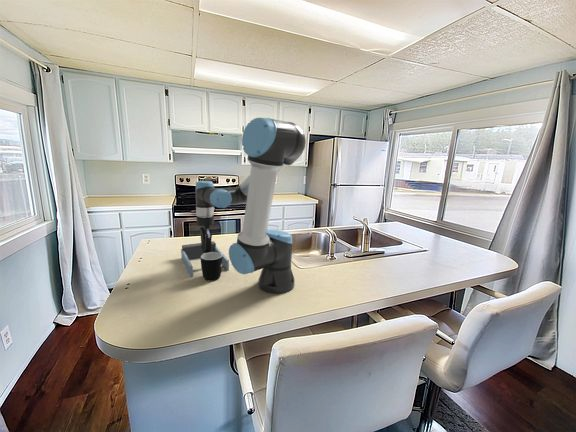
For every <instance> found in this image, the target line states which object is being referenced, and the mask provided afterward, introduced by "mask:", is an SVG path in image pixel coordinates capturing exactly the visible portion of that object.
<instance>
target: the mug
mask: <svg viewBox="0 0 576 432" xmlns="http://www.w3.org/2000/svg"><path fill="white" fill-rule="evenodd" d="M200 268H201V273H202V276H203V279H204V280H206V281H209V282H212V281H214V282H215V281H217V280H219V279H220V278H221V276H222V268H223V265H222V254H220V253H217V252H209V253H205V254H203V255H201V258H200Z"/></svg>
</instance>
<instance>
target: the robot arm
mask: <svg viewBox="0 0 576 432" xmlns="http://www.w3.org/2000/svg"><path fill="white" fill-rule="evenodd" d="M306 141H307V140H306V135H305V133H304V131H303V129H302V128H301V127H300V125H298V124H296V123H295V122H290V121H284V120H279V119H275V118H274V119H273V118H270V117H255V118H253V119H252V120H250V122H248V123H247V124H246V126H245V127H244V130H243V132H242V136H241V145H242V150H243V151H244V153H245V154H246V155H247V159H246V160H247V161H248V163H249V164H250V165H251V168H250V172H249V173H250V174H249V175H247V177H246V178H245V179H244V180H243V181H242V182H241V183H240V184H239V185H238V186H236V187H220V188H218V187H214V182H213V181H210V180H199V181H196V182H195V205H196V206H195V215H196V225H198V226H201V227H199V231H200V233H199V234H200V243H201V248H202V250H203V251H202V253H203V254H205V253H209V252H211V242H212V237H213V234H212V233H211V232H212V228H211V226H212V225H214V224H215V216H214V215H215V214H214V213H215V212H214V211H215V207H216V208H218V209H219V208H220V209H225V208H227V207H229V206H232V205H233V206H234V205H242V204H246V205H245V210H244V217H243V218H244V219H243V227H242V230H241V231H240V232H239V233H238V234H237V239H236V242H233V243H232V244H230V246H229V248H228V257H229V261H230V263H231V265H232V267H233V268H234V270H235V271H236V272H237V273H239V274H242V275H247V274H252V273H254V272H257V271H259V270H261V271H260V275H259V277H258V287H259V289H261V290H262V291H263V292H264V291H265V292H267V293H272V294H284V293H287V292H290V291H292V290H293V289H294V287H295V277H294V273H293V269H292V255H293V236H292V234H291V233H290V232H287V231H284V230H277V229H268V228H269V222H270V221H269V220H270V215H271V210H272V203H273V198H274V192H275V185H276V180H277V175H278V174H279V173H280V172H281V171H282V170H283V169H284V168H286V166H289V167H290V166H291V165H293V164H294V163H295V162H296V161H297V160H298V159H299V158H300V157H301V156H302V154H303V153H304V151H305V148H306V145H307V144H306Z"/></svg>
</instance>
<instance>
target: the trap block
mask: <svg viewBox="0 0 576 432" xmlns="http://www.w3.org/2000/svg"><path fill="white" fill-rule="evenodd" d="M215 247H217V244H216V242H215V241H214V240H213V241H212V240H211V252H215ZM181 249H182V250H183V251H185V253H186V255H187V257H188V259H189V260H190V261H193V260H199V259H200V260H201V255H203V253H202V251H203V250H202V248H201V242H197V243H190V244H182V245H181Z"/></svg>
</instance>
